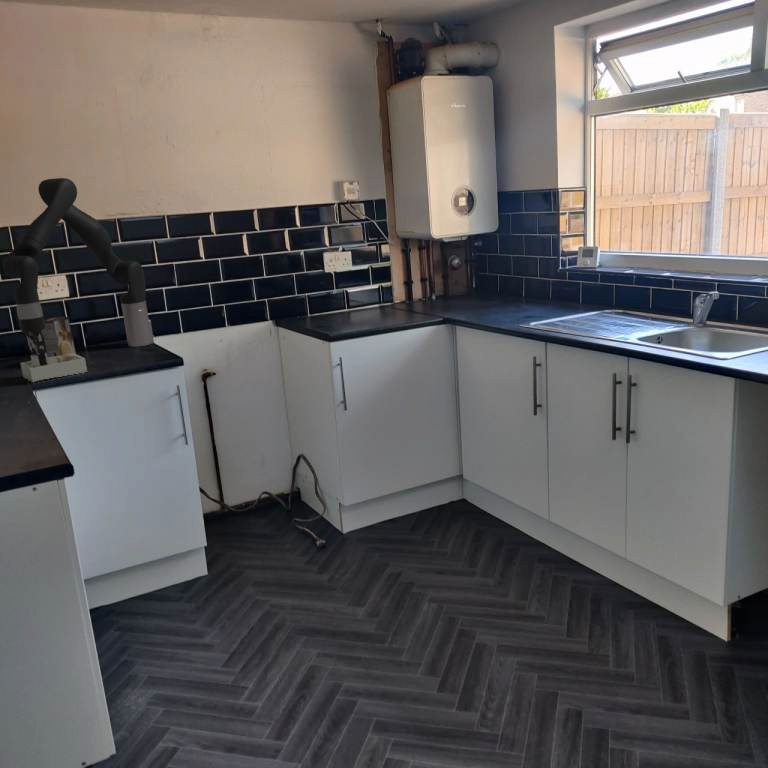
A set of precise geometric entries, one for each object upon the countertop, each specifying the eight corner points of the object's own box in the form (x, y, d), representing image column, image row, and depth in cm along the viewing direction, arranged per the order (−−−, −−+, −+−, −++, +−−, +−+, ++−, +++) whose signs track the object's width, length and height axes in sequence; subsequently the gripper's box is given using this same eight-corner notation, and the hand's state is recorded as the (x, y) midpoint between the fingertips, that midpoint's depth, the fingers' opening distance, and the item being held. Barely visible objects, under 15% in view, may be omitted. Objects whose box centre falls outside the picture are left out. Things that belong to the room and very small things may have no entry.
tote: (75, 366, 260) (73, 352, 259) (87, 372, 250) (84, 358, 248) (23, 376, 250) (20, 362, 248) (33, 383, 239) (30, 368, 238)
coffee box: (62, 358, 275) (54, 316, 271) (77, 358, 274) (69, 316, 270) (46, 364, 267) (38, 321, 262) (62, 364, 265) (53, 321, 261)
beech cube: (73, 367, 255) (71, 353, 254) (78, 369, 252) (75, 355, 250) (59, 370, 252) (56, 356, 251) (63, 372, 249) (60, 358, 247)
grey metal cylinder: (48, 372, 251) (44, 352, 249) (52, 374, 247) (48, 354, 245) (33, 375, 248) (29, 355, 246) (36, 377, 244) (32, 357, 242)
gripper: (48, 316, 238) (57, 364, 243) (37, 312, 249) (46, 358, 254) (23, 320, 234) (33, 368, 238) (13, 316, 245) (23, 362, 249)
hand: (40, 363), depth 246 cm, fingers open, 8 cm apart
